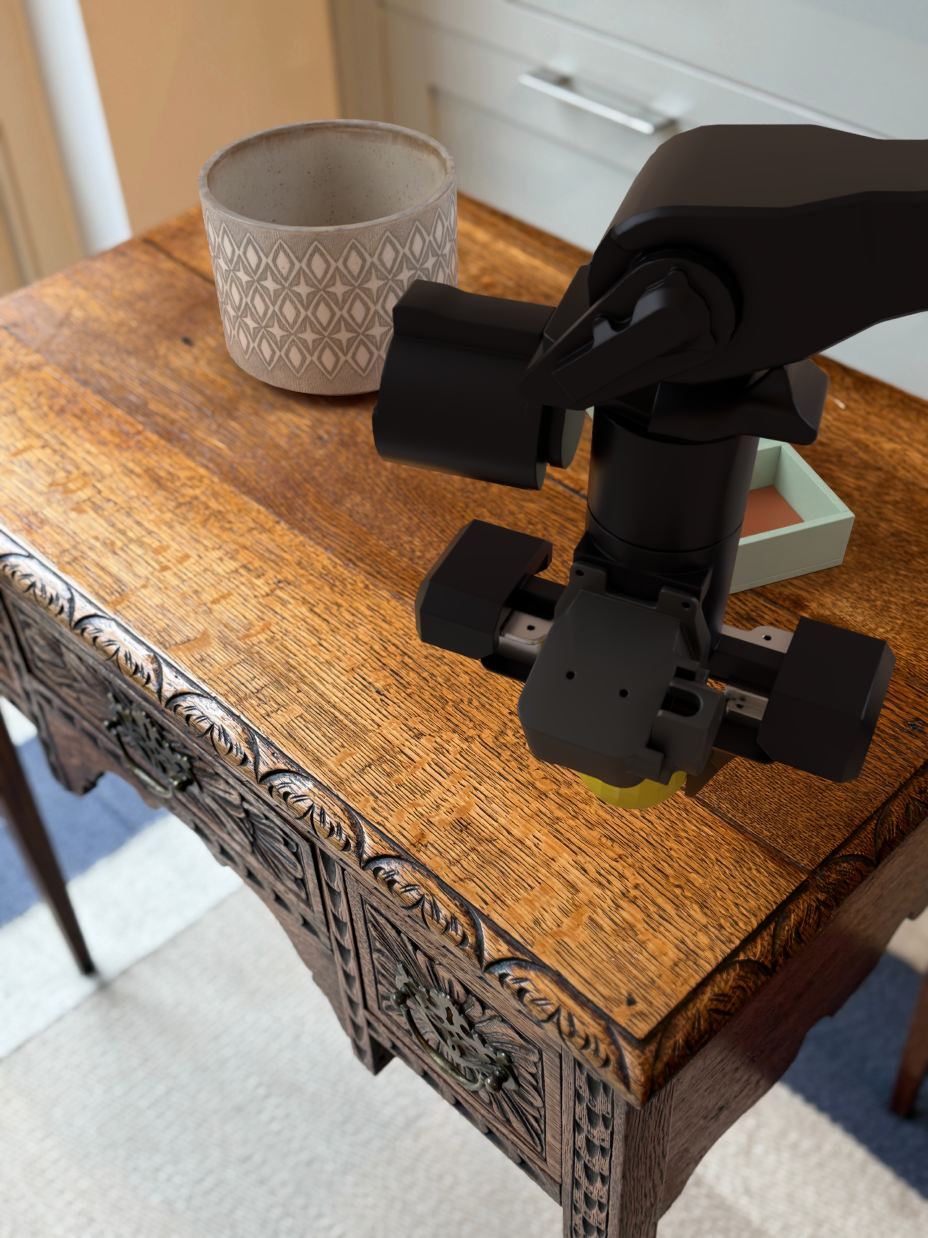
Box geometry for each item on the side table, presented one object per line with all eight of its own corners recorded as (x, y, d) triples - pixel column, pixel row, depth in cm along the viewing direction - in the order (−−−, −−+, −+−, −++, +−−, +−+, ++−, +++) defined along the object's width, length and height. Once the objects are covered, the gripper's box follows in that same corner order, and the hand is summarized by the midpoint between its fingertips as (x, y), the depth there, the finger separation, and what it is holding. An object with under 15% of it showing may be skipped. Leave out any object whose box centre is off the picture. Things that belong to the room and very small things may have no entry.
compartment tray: (841, 564, 76) (855, 515, 73) (722, 596, 74) (731, 547, 71) (670, 366, 92) (676, 320, 90) (568, 388, 90) (571, 341, 88)
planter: (446, 278, 103) (442, 111, 92) (472, 400, 89) (471, 220, 79) (230, 294, 101) (202, 125, 91) (225, 420, 88) (191, 239, 78)
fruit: (683, 852, 53) (706, 739, 47) (560, 836, 54) (569, 722, 48) (687, 756, 57) (709, 641, 51) (573, 742, 58) (582, 626, 52)
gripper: (332, 564, 41) (365, 828, 52) (878, 741, 35) (785, 998, 46) (470, 396, 48) (473, 660, 59) (944, 520, 42) (849, 788, 53)
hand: (629, 767), depth 54 cm, fingers closed on fruit, 5 cm apart
